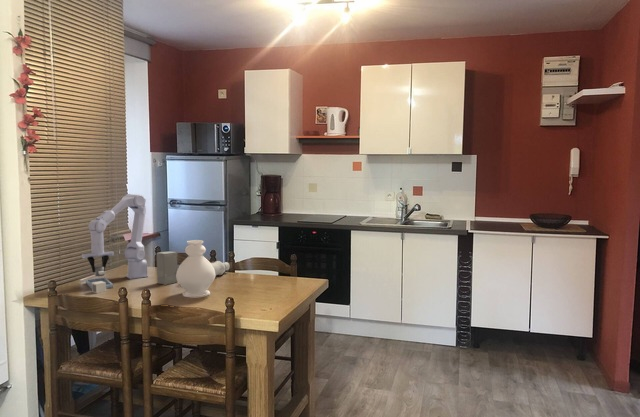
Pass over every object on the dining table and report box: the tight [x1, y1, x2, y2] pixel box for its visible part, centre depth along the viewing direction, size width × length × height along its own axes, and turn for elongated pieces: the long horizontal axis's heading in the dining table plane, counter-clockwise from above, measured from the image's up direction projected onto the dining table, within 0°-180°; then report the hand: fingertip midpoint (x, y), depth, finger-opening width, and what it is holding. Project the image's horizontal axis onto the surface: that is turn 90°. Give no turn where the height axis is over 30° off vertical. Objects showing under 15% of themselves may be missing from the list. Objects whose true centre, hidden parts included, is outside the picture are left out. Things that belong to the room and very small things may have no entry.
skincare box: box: [156, 250, 178, 286], centre depth 261 cm, size 8×7×16 cm
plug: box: [92, 264, 105, 277], centre depth 254 cm, size 12×4×4 cm, turn 35°
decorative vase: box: [176, 239, 216, 299], centre depth 239 cm, size 18×18×25 cm
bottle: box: [210, 260, 231, 277], centre depth 272 cm, size 9×9×30 cm
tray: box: [85, 277, 114, 290], centre depth 255 cm, size 17×9×2 cm, turn 35°
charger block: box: [91, 281, 107, 294], centre depth 244 cm, size 5×4×4 cm
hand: (98, 271), depth 255 cm, fingers closed on plug, 4 cm apart
